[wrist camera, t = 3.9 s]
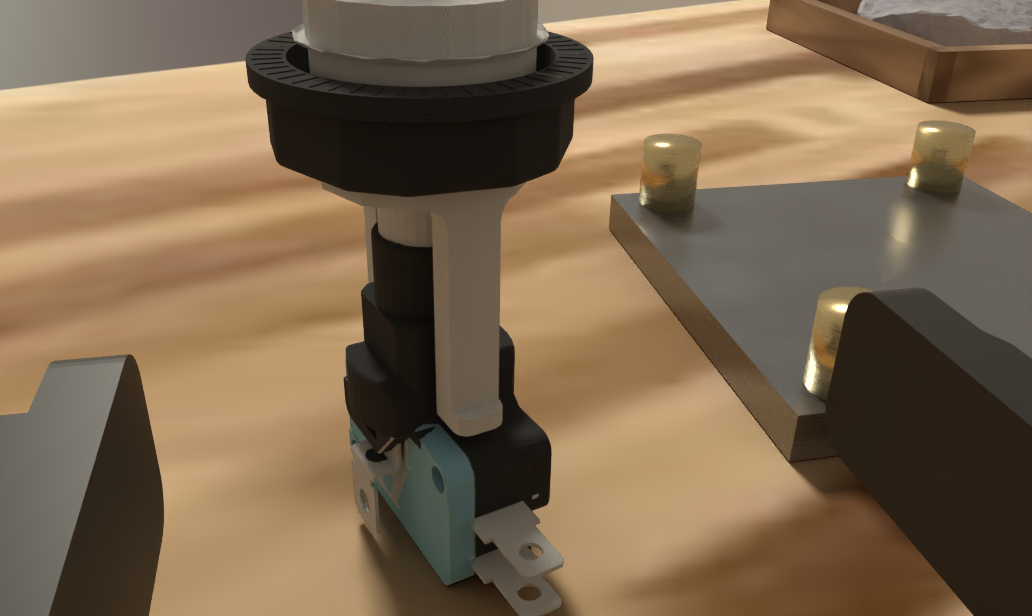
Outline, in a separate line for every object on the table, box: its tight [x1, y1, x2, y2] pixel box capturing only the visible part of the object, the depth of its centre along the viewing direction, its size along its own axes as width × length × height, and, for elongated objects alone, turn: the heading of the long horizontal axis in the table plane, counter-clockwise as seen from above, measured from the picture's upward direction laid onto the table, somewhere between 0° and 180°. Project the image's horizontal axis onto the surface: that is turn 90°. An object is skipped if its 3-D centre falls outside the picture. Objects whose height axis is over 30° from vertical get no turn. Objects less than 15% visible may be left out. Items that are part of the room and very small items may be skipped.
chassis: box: [609, 121, 1032, 462], centre depth 26 cm, size 13×13×3 cm
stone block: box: [857, 0, 1032, 47], centre depth 56 cm, size 12×5×10 cm
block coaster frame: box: [766, 0, 1032, 103], centre depth 55 cm, size 16×18×2 cm
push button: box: [246, 0, 593, 616], centre depth 16 cm, size 7×5×10 cm
